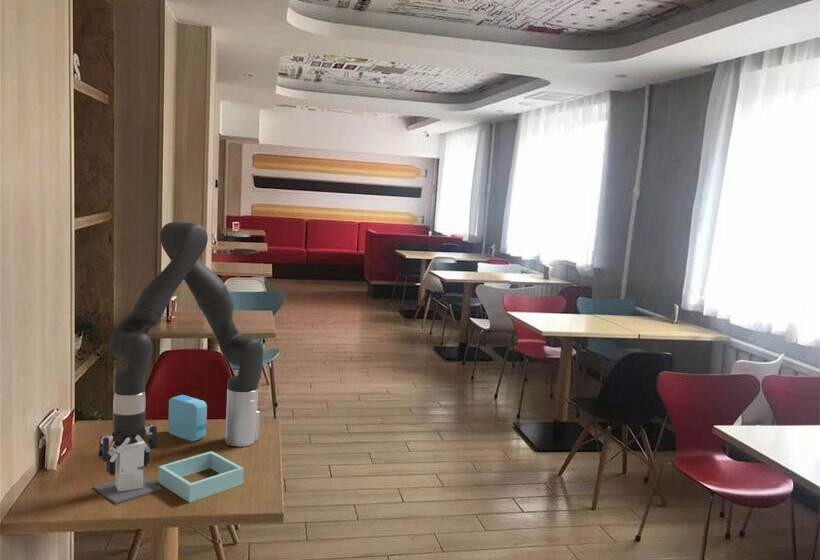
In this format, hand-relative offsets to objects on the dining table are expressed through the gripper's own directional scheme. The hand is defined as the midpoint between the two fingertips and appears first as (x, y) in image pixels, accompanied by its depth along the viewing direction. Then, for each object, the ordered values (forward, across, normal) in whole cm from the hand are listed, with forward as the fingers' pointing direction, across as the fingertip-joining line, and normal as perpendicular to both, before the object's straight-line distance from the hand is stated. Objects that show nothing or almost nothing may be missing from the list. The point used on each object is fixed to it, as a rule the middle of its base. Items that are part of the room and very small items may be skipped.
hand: (128, 469), depth 169 cm
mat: (+5, 0, 0) cm, 5 cm away
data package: (+5, -30, -22) cm, 38 cm away
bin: (+5, -16, +9) cm, 19 cm away
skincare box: (+5, 0, 0) cm, 5 cm away
